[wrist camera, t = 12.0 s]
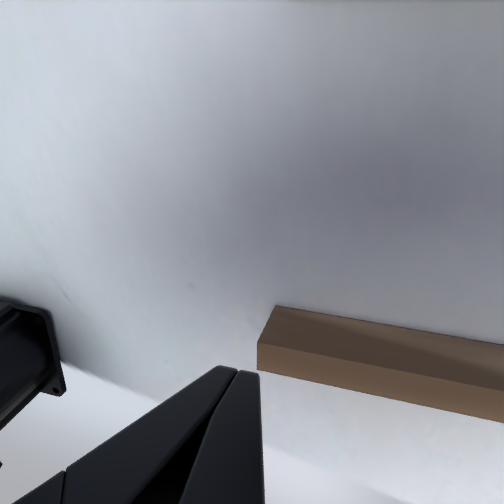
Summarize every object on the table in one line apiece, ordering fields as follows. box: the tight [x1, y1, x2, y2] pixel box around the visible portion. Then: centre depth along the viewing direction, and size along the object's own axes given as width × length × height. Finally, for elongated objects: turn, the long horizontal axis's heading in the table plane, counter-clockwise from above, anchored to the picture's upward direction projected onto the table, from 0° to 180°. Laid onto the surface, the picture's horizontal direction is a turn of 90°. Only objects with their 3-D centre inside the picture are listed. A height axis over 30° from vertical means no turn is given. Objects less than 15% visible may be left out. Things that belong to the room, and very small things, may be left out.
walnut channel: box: [257, 306, 504, 423], centre depth 15 cm, size 16×14×3 cm
